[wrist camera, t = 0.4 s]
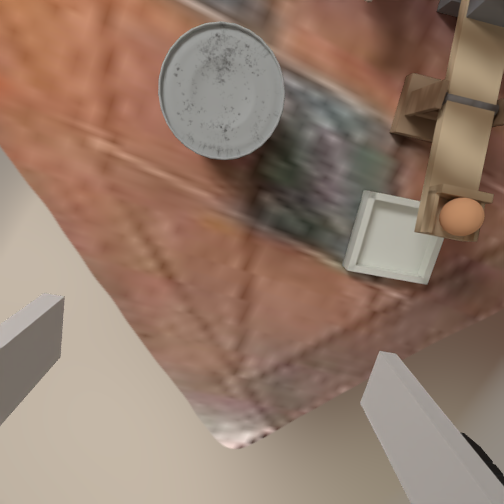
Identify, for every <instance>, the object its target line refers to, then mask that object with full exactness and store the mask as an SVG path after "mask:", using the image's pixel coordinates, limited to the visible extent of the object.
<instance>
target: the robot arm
mask: <svg viewBox="0 0 504 504" xmlns="http://www.w3.org/2000/svg"><path fill="white" fill-rule="evenodd" d="M63 312H64V296H59V295H53V294H47V293H43V294H42V295H40V296H39V297H38V298H36V299H35V300H33V301H32V302H31V303H30V304H28V305H27V306H25V307H24V308H22V309H21V310H19V311H18V312H17V313H15V314H14V315H12V316H11V317H10V318H8V319H7V320H5V321H4V322H3V323H1V324H0V425H1V424H2V423H3V422H4V421H5V420H6V418H7V417H8V416H9V415H10V414H11V413H12V412H13V411H14V409H15V408H16V407H17V406H18V405H19V404H20V402H21V401H22V400H23V399H24V398H25V397H26V396H27V395H28V393H29V392H30V391H31V390H32V389H33V388H34V387H35V385H36V384H37V383H38V382H39V381H40V380H41V378H42V377H43V376H44V375H45V374H46V373H47V372H48V371H49V369H50V368H51V367H52V366H53V365H54V364H55V363H56V361H57V360H58V359H59V358H60V354H61V341H62V326H63ZM360 404H361V406H362V407H363V410H364V412H365V414H366V416H367V418H368V420H369V422H370V424H371V425H372V427H373V429H374V431H375V433H376V435H377V437H378V439H379V441H380V443H381V445H382V447H383V449H384V451H385V453H386V455H387V457H388V459H389V461H390V463H391V465H392V467H393V469H394V471H395V473H396V475H397V477H398V479H399V481H400V483H401V485H402V487H403V489H404V491H405V493H406V495H407V497H408V499H409V501H410V502H411V504H504V476H503V473H502V472H501V471H500V470H499V468H497V466H496V465H494V464H493V461H492V460H491V459H490V458H489V457H488V455H487V454H486V453H485V452H484V451H483V450H482V448H481V447H480V446H479V445H477V444H476V443H475V442H474V441H473V440H472V439H470V438H469V437H468V436H467V435H465V434H464V433H460V432H459V431H458V430H457V428H456V427H455V426H454V424H453V423H452V422H451V421H450V420H449V418H448V417H447V416H446V415H445V413H444V412H443V411H442V410H441V409H440V407H439V406H438V405H437V404H436V403H435V401H434V400H433V399H432V397H431V396H430V395H429V394H428V392H427V391H426V390H425V389H424V388H423V386H422V385H421V384H420V383H419V381H418V380H417V379H416V378H415V377H414V375H413V374H412V373H411V372H410V370H409V369H408V368H407V367H406V365H405V364H404V363H403V362H402V361H401V359H400V358H399V357H398V356H397V354H394V353H389V352H383V351H379V354H378V357H377V359H376V362H375V365H374V367H373V370H372V373H371V375H370V378H369V381H368V383H367V386H366V389H365V392H364V395H363V397H362V400H361V403H360Z"/></svg>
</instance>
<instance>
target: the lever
mask: <svg viewBox="0 0 504 504" xmlns="http://www.w3.org/2000/svg"><path fill="white" fill-rule="evenodd" d="M503 70H504V0H461V4H460V9H459V14H458V19H457V24H456V28H455V33H454V38H453V43H452V48H451V53H450V58H449V63H448V68H447V73H446V78H445V80H448V81H450V82H449V85H448V88H447V91H446V94H445V97H444V100H443V103H442V106H441V109H439V112H438V117H437V122H436V127H435V132H434V137H433V142H432V146H431V151H430V156H429V161H428V166H427V171H426V176H425V181H424V186H423V191H422V196H421V201H420V205H419V210H418V215H417V220H416V225H415V230H414V232H417V233H422V234H427V235H432V236H437V237H442V238H447V239H452V240H457V241H475V242H477V240H478V235H479V230H480V228H479V229H478V230H477V231H475V232H474V233H472V234H470V235H466V236H455V235H452V234H449V233H448V232H446V231H445V230H444V229H443V228H442V226H441V224H440V221H439V215H440V211H441V209H442V208H443V206H444V205H445V204H446V203H448V202H449V201H451V200H453V199H456V198H470V199H473V200H475V201H477V202H478V203H479V204H480V205H481V206H482V208H483V210H484V207H485V204H488V203H492V201H493V197H494V194H490V193H485V192H481V191H478V189H479V185H480V180H481V175H482V170H483V166H484V161H485V156H486V151H487V147H488V142H489V137H490V132H491V128H492V123H493V118H494V116H495V115H496V114H497V113H498V111H499V105H498V104H497V99H498V94H499V89H500V85H501V80H502V75H503Z"/></svg>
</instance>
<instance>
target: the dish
mask: <svg viewBox="0 0 504 504" xmlns="http://www.w3.org/2000/svg"><path fill="white" fill-rule="evenodd" d="M419 205H420V201H417V200H412V199H407V198H402V197H398V196H393V195H388V194H383V193H378V192H373V191H368V190H364V191H363V195H362V198H361V202H360V205H359V208H358V212H357V215H356V219H355V222H354V226H353V229H352V233H351V236H350V240H349V243H348V247H347V250H346V254H345V257H344V261H343V264H342V266H343V267H344V268H345V269H346V270H348V271H353V272H359V273H364V274H370V275H376V276H381V277H387V278H392V279H398V280H403V281H409V282H415V283H420V284H426V285H427V284H428V281H429V279H430V276H431V273H432V270H433V268H434V265H435V262H436V259H437V257H438V254H439V251H440V248H441V246H442V243H443V240H444V238H442V237H437V236H432V235H427V234H422V233H417V232H414V230H415V225H416V220H417V215H418V210H419Z"/></svg>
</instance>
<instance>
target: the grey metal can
mask: <svg viewBox="0 0 504 504" xmlns="http://www.w3.org/2000/svg"><path fill="white" fill-rule="evenodd" d="M158 95H159V100H160V106H161V110H162V113H163V115H164V118H165V120H166V123H167V125H168V126H169V128H170V129H171V131H172V132H173V134H174V135H175V137H176V138H177V139H179V140H180V141H181V142H182V143H183V144H184V145H185V146H186V147H187V148H189V149H190V150H192V151H194V152H195V153H197V154H199V155H202V156H205V157H208V158H210V159H219V160H231V159H237V158H240V157H243V156H245V155H248V154H250V153H252V152H253V151H255V150H256V149H258V148H259V147H261V146H262V145H263V144H264V143H265V142H266V141H267V140H268V139H269V138H270V137H271V135H272V134H273V132H274V130H275V129H276V127H277V125H278V124H279V121H280V118H281V115H282V112H283V107H284V99H285V88H284V78H283V75H282V71H281V68H280V65H279V63H278V61H277V59H276V57H275V55H274V53H273V51H272V50H271V49H270V48H269V46H268V45H267V44H266V43H265V42H264V41H263V40H262V38H260V37H259V36H257V35H256V34H255V33H253V32H252V31H251V30H249V29H247V28H244V27H242V26H240V25H237V24H234V23H227V22H212V23H205V24H202V25H200V26H197V27H195V28H192V29H190V30H189V31H188V32H186V33H185V34H184V35H182V36H181V37H179V39H178V40H177V41H176V42H175V43H174V45H173V46H172V47H171V48H170V49H169V51H168V53H167V55H166V57H165V59H164V61H163V64H162V68H161V72H160V76H159V90H158Z"/></svg>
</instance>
